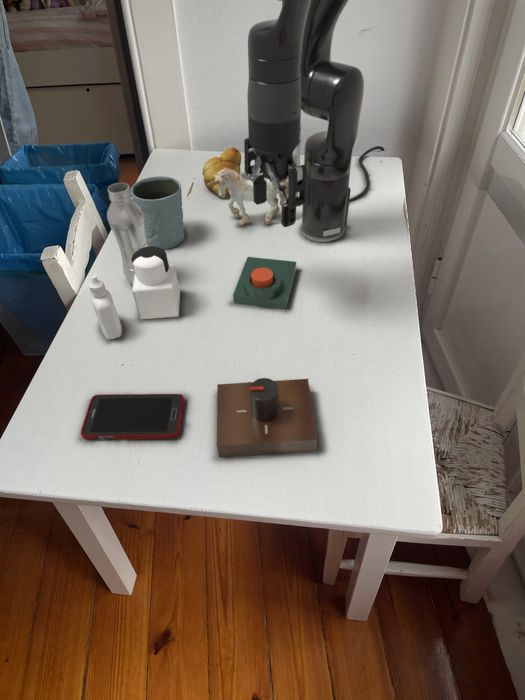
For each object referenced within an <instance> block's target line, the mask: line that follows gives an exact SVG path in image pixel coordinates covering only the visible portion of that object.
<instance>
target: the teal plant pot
mask: <svg viewBox="0 0 525 700" xmlns="http://www.w3.org/2000/svg"><path fill="white" fill-rule="evenodd" d="M130 191H131V193H132V199H133V200H134V201H135V202H137V203H138V204H139V205H140V207H141V208H142V210H143V211H144V216H145V228H146V235H147V240H148V244H149V246H155V247H159V248H161V249H163V250H168V249H172V248H175V247H177V246H179V245H180V244H181V243H182V242H183V241H184V240H185V227H184V222H183V219H184V212H183V202H182V201H183V195H182V184H181V183H180V181H179V180H177V179H175V178H173V177H170V176H166V175H165V176H164V175H161V176H159V175H158V176H151V177H146V178H142V179H141V180H139V181H137V182H136V183H134V184H133V185H132V186H131V187H130Z"/></svg>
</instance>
